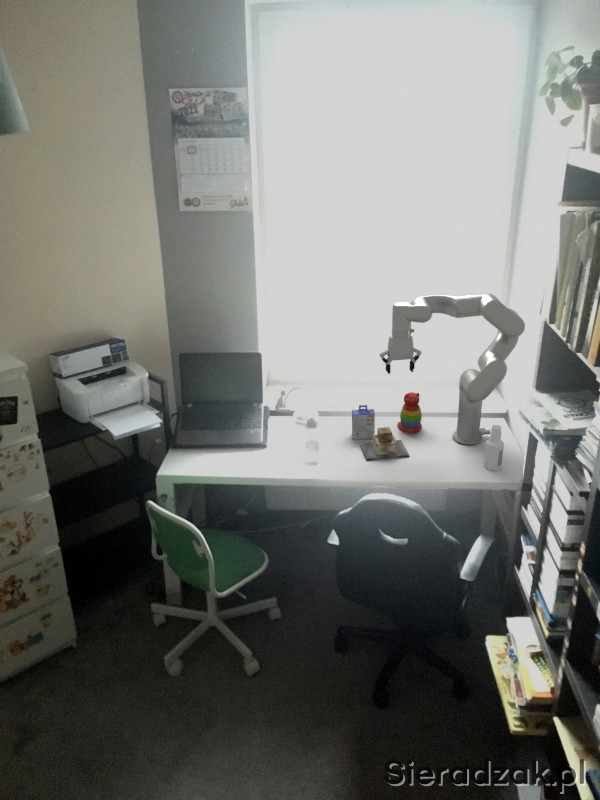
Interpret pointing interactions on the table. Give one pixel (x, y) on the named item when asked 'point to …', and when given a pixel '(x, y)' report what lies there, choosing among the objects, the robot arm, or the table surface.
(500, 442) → the spray bottle
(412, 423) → the stacking bear
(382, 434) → the walnut block
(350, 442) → the table surface
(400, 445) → the build base
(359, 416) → the ink cartridge box
